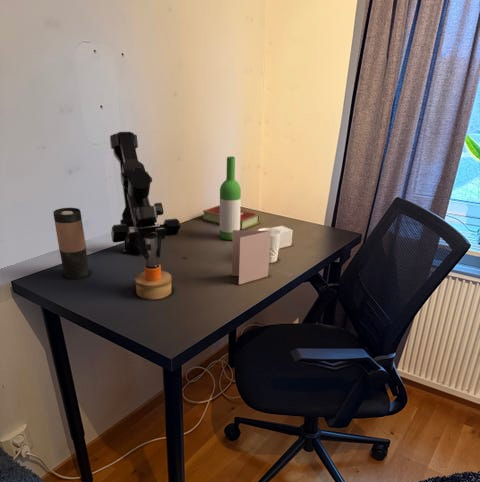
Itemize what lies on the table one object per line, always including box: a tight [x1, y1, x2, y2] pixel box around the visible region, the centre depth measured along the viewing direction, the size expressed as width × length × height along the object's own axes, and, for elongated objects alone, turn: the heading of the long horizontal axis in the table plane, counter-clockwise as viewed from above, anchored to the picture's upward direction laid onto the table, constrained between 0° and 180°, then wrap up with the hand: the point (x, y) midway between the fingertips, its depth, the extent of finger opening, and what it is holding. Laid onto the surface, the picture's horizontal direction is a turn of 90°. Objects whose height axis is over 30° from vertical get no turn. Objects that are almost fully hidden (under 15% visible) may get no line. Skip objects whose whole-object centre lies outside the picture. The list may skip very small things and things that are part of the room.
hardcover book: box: [202, 204, 260, 230], centre depth 188 cm, size 12×21×4 cm, turn 54°
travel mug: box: [52, 207, 90, 280], centre depth 133 cm, size 8×8×20 cm
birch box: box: [134, 270, 173, 300], centre depth 128 cm, size 10×10×4 cm
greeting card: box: [231, 229, 271, 285], centre depth 134 cm, size 11×7×15 cm, turn 91°
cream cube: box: [273, 225, 294, 249], centre depth 165 cm, size 6×6×6 cm
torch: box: [143, 232, 162, 281], centre depth 124 cm, size 5×5×13 cm
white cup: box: [257, 227, 281, 264], centre depth 151 cm, size 8×8×10 cm
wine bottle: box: [219, 155, 242, 241], centre depth 164 cm, size 8×8×30 cm
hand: (153, 257), depth 123 cm, fingers closed on torch, 3 cm apart
